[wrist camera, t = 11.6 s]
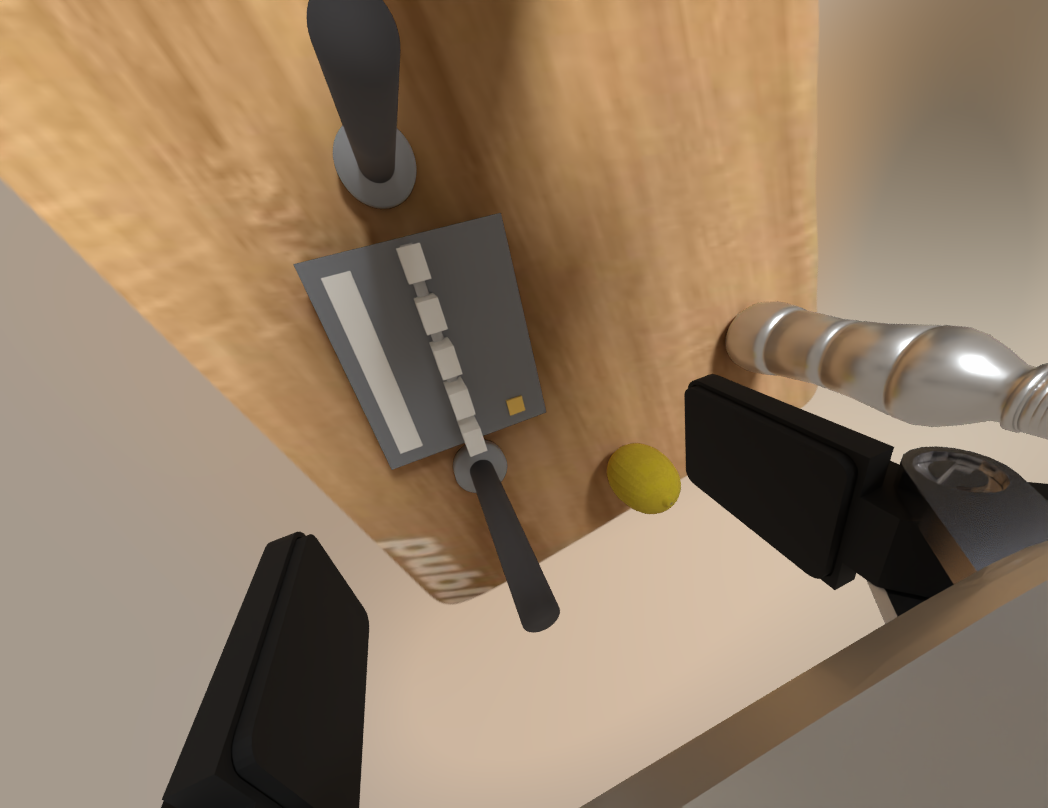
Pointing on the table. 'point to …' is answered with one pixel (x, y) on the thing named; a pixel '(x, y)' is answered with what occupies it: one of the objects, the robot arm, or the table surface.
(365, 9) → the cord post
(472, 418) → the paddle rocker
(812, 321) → the plastic bottle
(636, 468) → the lemon
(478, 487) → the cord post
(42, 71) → the table surface
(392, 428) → the breaker panel
